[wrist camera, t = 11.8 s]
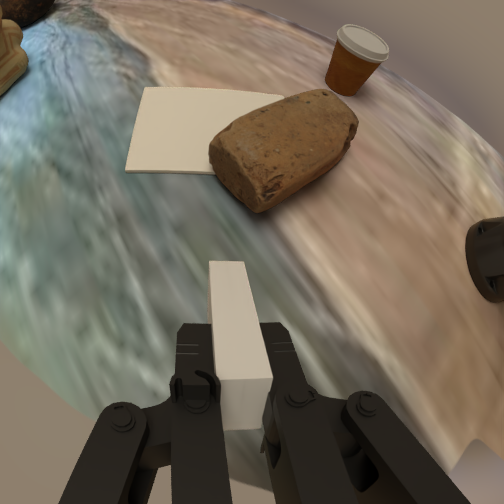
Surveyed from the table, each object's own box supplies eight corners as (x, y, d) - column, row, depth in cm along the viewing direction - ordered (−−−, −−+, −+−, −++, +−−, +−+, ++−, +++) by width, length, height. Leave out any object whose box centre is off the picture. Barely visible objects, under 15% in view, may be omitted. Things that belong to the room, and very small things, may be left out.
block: (205, 124, 31) (323, 79, 39) (200, 164, 38) (307, 113, 46) (269, 196, 30) (379, 130, 37) (254, 228, 37) (355, 161, 44)
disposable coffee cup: (306, 74, 50) (328, 24, 38) (338, 65, 53) (361, 21, 42) (342, 107, 48) (372, 58, 37) (372, 96, 51) (400, 53, 40)
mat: (282, 98, 46) (283, 95, 45) (293, 179, 41) (294, 177, 40) (145, 89, 42) (144, 87, 41) (125, 172, 37) (125, 170, 36)
